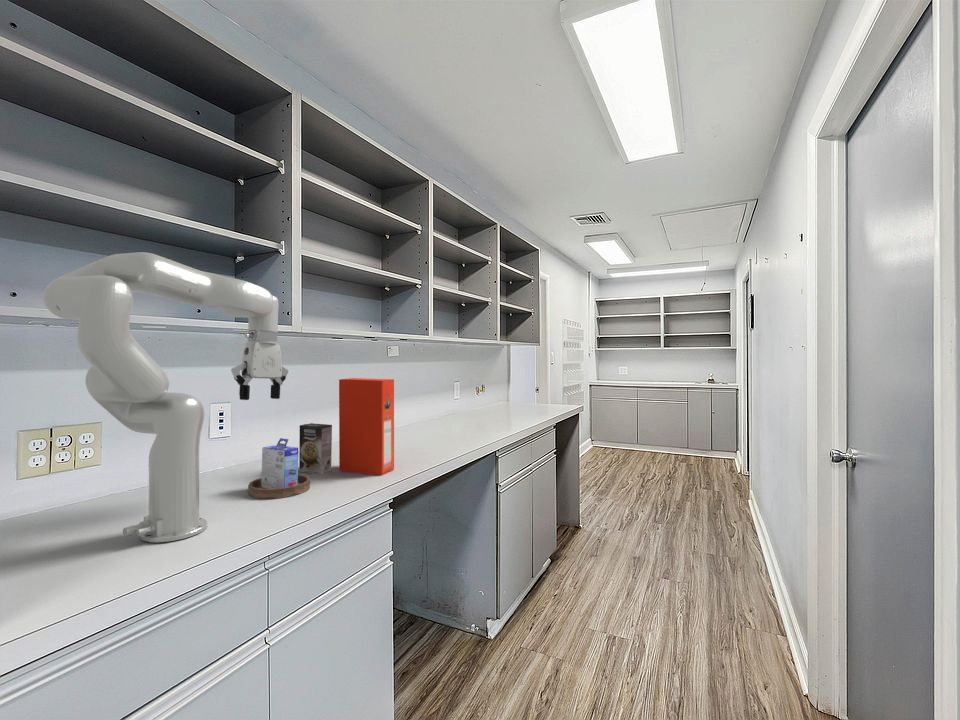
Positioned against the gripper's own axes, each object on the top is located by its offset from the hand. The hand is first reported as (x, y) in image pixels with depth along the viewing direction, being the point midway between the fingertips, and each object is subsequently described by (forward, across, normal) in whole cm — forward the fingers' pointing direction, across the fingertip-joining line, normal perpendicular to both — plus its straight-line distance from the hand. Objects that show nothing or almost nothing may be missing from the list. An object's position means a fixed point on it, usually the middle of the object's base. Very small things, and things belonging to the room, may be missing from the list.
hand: (260, 399), depth 127 cm
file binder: (+26, +39, -5) cm, 47 cm away
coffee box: (+26, +30, +10) cm, 41 cm away
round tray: (+27, +9, +2) cm, 29 cm away
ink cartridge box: (+27, +9, +2) cm, 29 cm away
